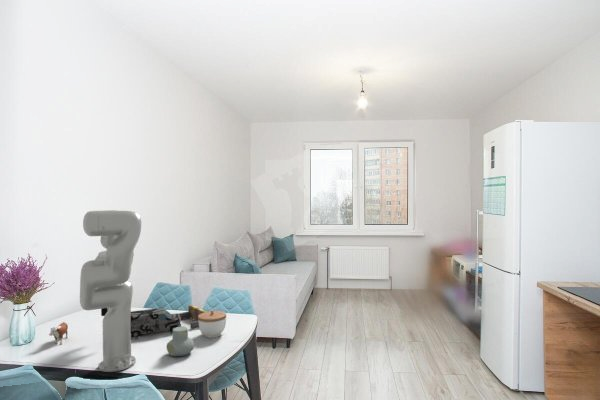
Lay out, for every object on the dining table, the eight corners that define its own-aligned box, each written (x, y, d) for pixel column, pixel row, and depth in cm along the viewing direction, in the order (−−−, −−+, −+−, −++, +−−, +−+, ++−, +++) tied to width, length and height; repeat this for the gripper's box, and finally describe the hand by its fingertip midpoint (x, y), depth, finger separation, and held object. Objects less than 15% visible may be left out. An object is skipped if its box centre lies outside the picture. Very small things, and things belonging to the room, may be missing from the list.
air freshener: (164, 352, 154) (164, 328, 154) (183, 347, 160) (183, 323, 160) (177, 360, 146) (176, 334, 146) (196, 354, 152) (196, 329, 152)
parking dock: (209, 325, 187) (209, 312, 187) (192, 329, 181) (191, 316, 181) (192, 316, 202) (191, 304, 201) (175, 320, 196) (175, 307, 196)
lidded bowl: (212, 328, 182) (211, 305, 182) (232, 332, 176) (231, 309, 176) (192, 336, 171) (191, 312, 171) (212, 341, 165) (212, 316, 165)
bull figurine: (47, 348, 160) (46, 329, 160) (60, 337, 173) (60, 319, 173) (58, 347, 161) (58, 328, 161) (71, 336, 174) (71, 318, 174)
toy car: (181, 332, 178) (181, 310, 178) (123, 339, 169) (123, 317, 169) (180, 325, 188) (179, 304, 188) (124, 332, 179) (124, 310, 179)
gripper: (123, 281, 162) (123, 321, 163) (111, 274, 175) (112, 311, 176) (103, 284, 157) (104, 325, 158) (93, 277, 170) (93, 315, 171)
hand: (108, 318), depth 167 cm, fingers open, 9 cm apart
